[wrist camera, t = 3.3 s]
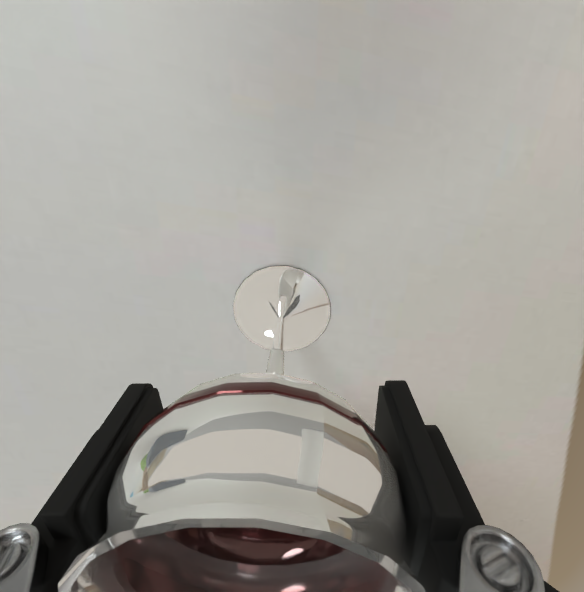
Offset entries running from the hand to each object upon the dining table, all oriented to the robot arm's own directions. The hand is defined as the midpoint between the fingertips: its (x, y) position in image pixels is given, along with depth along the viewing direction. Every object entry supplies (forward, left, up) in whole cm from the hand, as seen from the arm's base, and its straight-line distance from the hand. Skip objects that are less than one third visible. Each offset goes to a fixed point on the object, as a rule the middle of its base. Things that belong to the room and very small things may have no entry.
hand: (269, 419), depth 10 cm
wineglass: (0, 0, -7) cm, 7 cm away
